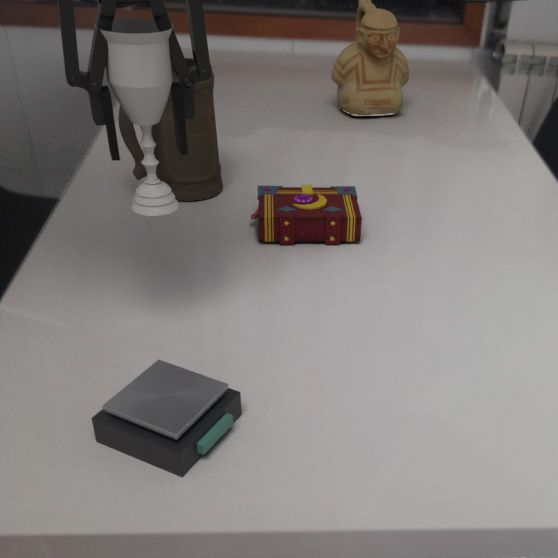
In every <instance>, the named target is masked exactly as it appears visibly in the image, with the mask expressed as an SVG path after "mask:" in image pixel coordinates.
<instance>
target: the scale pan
mask: <svg viewBox="0 0 558 558" xmlns="http://www.w3.org/2000/svg"><path fill="white" fill-rule="evenodd" d="M229 388H230V387H229V384H228V383H226V382H223V381H221V380H218V379H215V378H212V377H210V376H206V375H203V374H201V373H198V372H195V371H193V370H190V369H187V368H184V367H181V366H178V365H176V364H173V363H170V362H167V361H164V360H162V359H157V360H156V361H155V362H154V363H153V364H152V365H150V366H149V367H148V368H147V369H145V370H144V371H142V372H141V373H140V374H139V375H137V377H135V378H134V379H133V380H132V381H130V382H129V383H128V384H127V385H125V386H124V387H123V388H121V390H119V391H118V392H117V393H116V394H115V395H113V396H112V397H111V398H109V400H107V401H106V402H105V403H103V404H102V406H101V407H102V409H103V411H104V412H107V413H109V414H112V415H114V416H117V417H119V418H122V419H124V420H127V421H129V422H132V423H134V424H137V425H139V426H142V427H144V428H147V429H149V430H152V431H155V432H157V433H160V434H162V435H165V436H167V437H170V438H172V439H175V440H178V439H179V438H180V437H181V436H182V435H183V434H184V433H185V432H186V431H187V430H188V429H189V428H190V427H191V426H192V425H193V424H194V423H195V422H196V421H197V420H198V419H199V418H200V417H201V416H202V415H203V414H204V413H205V412H206V411H207V410H208V409H209V408H210V407H211V406H212V405H213V404H214V403H215V402H216V401H217V400H218V399H219V398H220V397H221V396H223V395H224V394H225V393H226V392H227V391H228V389H229Z"/></svg>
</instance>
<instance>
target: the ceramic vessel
mask: <svg viewBox="0 0 558 558" xmlns="http://www.w3.org/2000/svg"><path fill="white" fill-rule="evenodd" d="M357 2H358V7H357V11H356V19H355V33H354V34H355V35H354V38H355V40H354V41H353V42H352V43H350V44H349V45H347V46H345V47H344V49H342V50H341V51H340V53H339V54H338V56H337V57H336V60H335V62H334V63H333V67H332V70H331V75H330V76H331V80H332V81H333V82H334V83H335V84H336V85H337V87H336V88H337V89H336V97H337V98H336V101H337V106H338V108H339V107H340V108H341V109H342V110H344V111H346V112H349V113H350V114H358V115H371V114H386V113H387V114H388V113H396V114H397V113H398V112H399V111H400V109H401V108H402V107H403V103H404V93H403V87H404V86H405V85H406V84H407V83H408V82H409V79H410V70H409V63H408V59H407V57H406V55H405V54H404V52H403V51H402V50H401V49H399V47H397V46H396V45H397V43H398V42H399V40H400V35H401V28H400V26H398V23H399V22H398V19H397V18H396V16H395V14H394V13H392V12H391V11H390V10H387V9H385V8H378V7H376V5H375V4H374V3H373V2H372V0H357ZM340 108H339V109H340ZM341 109H340V110H341ZM342 110H341V111H342Z"/></svg>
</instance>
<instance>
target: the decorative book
mask: <svg viewBox="0 0 558 558" xmlns="http://www.w3.org/2000/svg"><path fill="white" fill-rule="evenodd" d="M257 201H258V206H257V209H256V210H255V212H253V213H252V214H251V215H250V221H251V220H253V219H254V218H255V219H254V220H255V221H254V228H256V227H257V226H258V242H259V243H279V244H280V245H295V243H300V242H301V243H303V242H304V243H307V242H310V243H312V242H313V243H315V242H316V243H318V242H319V243H320V242H322V243H323V242H324V243H325V245H341V243H342V242H343V243H345V242H347V243H349V242H350V243H352V242H353V243H354V242H359V243H360V242H361V233H362V219H363V218H362V213H361V210H360V209H361V208H360V205H359V201H358V193H357V188H356V186H355V185H330V186H327V187H321V186H320V187H319V186H318V187H316V186H314V187H313V185H312V184H301V185H300V186H299V187H298V186H297V187H296V186H284V185H257Z"/></svg>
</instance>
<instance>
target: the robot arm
mask: <svg viewBox="0 0 558 558" xmlns="http://www.w3.org/2000/svg"><path fill="white" fill-rule="evenodd" d="M184 4H185V10H186V17H187V25H188V32H189V40H190V47H191V53H192V59H193V61H194V65H193V66H191V67H189V68H188V65H187V63H186V60H185V58H186V57H185V55H184V53H183V50H182V47H181V45H180V43H179V40H178V37H177V34H176V32H175V29H174V26H173V27H172V25H173V23H172V22H171V19H170V16H169V14H168V11H167V8H166V5H165V3H164V1H163V0H97V4H96V14H95V21H94V24H95V27H96V28H97V29H96V28H95V27H94V26H93V27H94V28H93V34H92V40H91V45H90V52H89V57H88V65H87V70H86V71H83V70H80V62H79V52H78V51H79V50H78V39H77V29H76V19H75V11H74V10H75V8H74V1H73V0H57V8H58V19H59V27H60V36H61V37H60V39H61V47H62V55H63V57H62V58H63V65H64V66H63V68H64V73H65V74H64V75H65V80H66V83H67V84H68V85H69V86H70V87H72V88H80V89H83V90H84V91H86V92H87V94H88V99H89V106H90V111H91V116H92V121H93V122H94V124H95V126H97V127H98V126H105V129H106V131H105V132H106V136H107V137H106V138H107V143H108V151H109V154H110V158H111V161H121V157H120V151H119V143H118V136H117V128H116V122H115V121H116V120H115V115H114V109H113V101H112V94H111V91H110V88H109V85H103V82H104V78H105V77H104V76H105V72H106V67H105V65H106V59H107V54H108V42H107V40H106V39H105V37H104V35H103V34H102V32H101V31H100V29H101V30H104V31H109V32H111V30H112V24H113V20H114V18H116V17H115V16H116V11H117V9H122V8H124V9H125V8H127V7H131V6H135V7H137V8H148V10H149V12H150V14H151V15H152V19H154V21H155V23H156V26H157V28H158V31H159V32H162V31H166V30H169V29H171V28H173V29H172V31H171V34H170V37H169V39H168V41H169V52H170V58H171V63H172V65H173V68H174V70H175V73H176V75H177V78H178V82H172V84H171V95H172V106H173V116H174V126H175V137H176V146H177V148H178V150H179V152H180V154H181V155H188V146H187V135H186V123H185V119H194V116H195V104H194V91H193V89H194V87H195V84H196V83H198V82H200V81H202V80H208V79H209V78H210V77H211V66H212V65H211V66H210V64H211V61H210V51H209V45H208V44H209V43H208V36H207V28H206V21H205V13H204V6H203V0H184Z"/></svg>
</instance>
